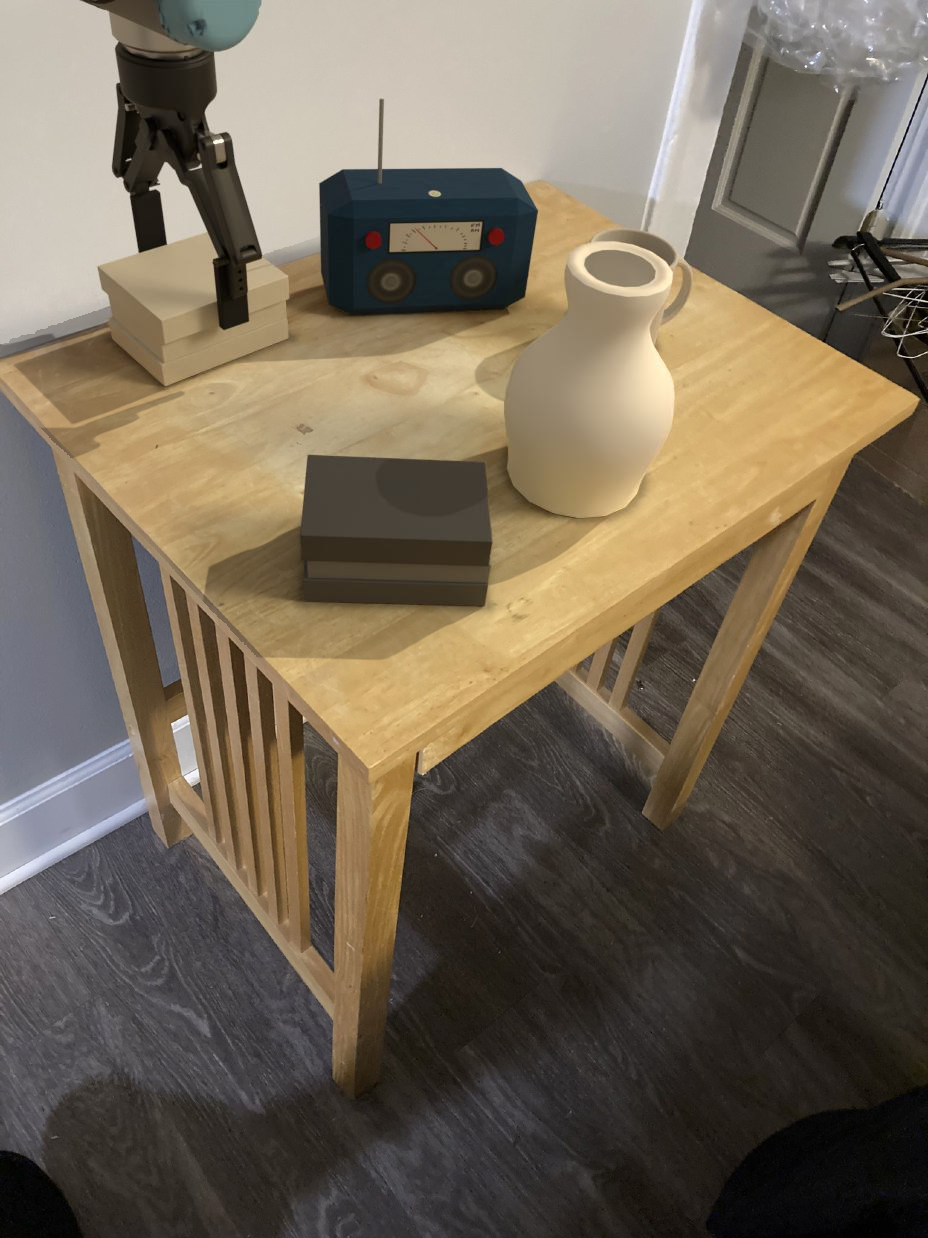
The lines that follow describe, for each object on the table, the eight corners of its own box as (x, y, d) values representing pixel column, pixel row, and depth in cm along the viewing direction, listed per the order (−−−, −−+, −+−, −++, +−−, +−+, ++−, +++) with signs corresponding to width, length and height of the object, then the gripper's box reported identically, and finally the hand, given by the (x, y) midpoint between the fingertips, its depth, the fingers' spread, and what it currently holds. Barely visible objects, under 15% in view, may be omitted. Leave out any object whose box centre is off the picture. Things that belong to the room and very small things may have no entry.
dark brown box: (303, 601, 74) (300, 535, 69) (309, 520, 80) (307, 454, 75) (485, 606, 76) (495, 541, 70) (478, 526, 81) (487, 461, 76)
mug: (562, 349, 100) (580, 259, 93) (582, 305, 106) (601, 216, 99) (665, 376, 99) (691, 286, 91) (679, 329, 105) (705, 241, 97)
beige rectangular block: (164, 386, 90) (157, 341, 86) (111, 338, 94) (102, 293, 91) (288, 338, 97) (286, 294, 93) (234, 295, 101) (230, 252, 98)
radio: (331, 324, 99) (328, 120, 84) (320, 279, 105) (316, 80, 90) (526, 315, 104) (557, 120, 89) (506, 273, 109) (531, 82, 94)
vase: (461, 465, 86) (485, 254, 72) (563, 404, 94) (605, 202, 79) (583, 551, 81) (638, 341, 66) (682, 479, 88) (752, 276, 73)
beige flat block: (165, 344, 86) (161, 320, 84) (101, 289, 91) (96, 265, 89) (289, 298, 93) (288, 275, 91) (224, 249, 98) (222, 227, 96)
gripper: (299, 89, 72) (305, 340, 88) (124, -13, 83) (157, 226, 99) (212, 108, 68) (234, 366, 84) (41, -2, 79) (89, 245, 95)
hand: (193, 291), depth 92 cm, fingers open, 13 cm apart
